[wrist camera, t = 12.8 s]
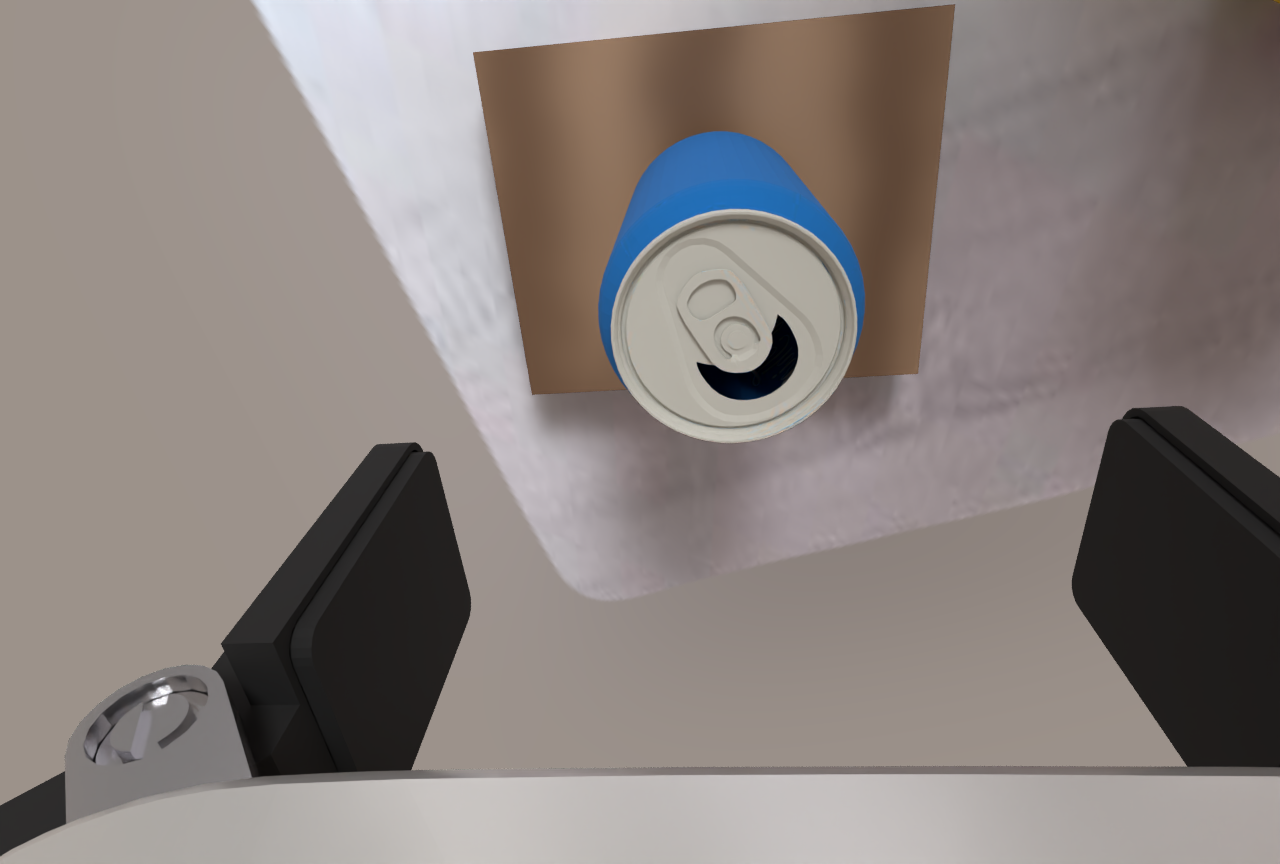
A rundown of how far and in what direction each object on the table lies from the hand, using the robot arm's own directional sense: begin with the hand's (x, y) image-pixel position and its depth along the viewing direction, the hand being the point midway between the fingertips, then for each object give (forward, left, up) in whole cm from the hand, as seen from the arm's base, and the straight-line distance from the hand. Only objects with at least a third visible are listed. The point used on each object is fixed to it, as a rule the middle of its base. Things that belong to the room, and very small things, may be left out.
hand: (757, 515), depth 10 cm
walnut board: (0, 0, -22) cm, 22 cm away
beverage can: (0, 0, -19) cm, 19 cm away
